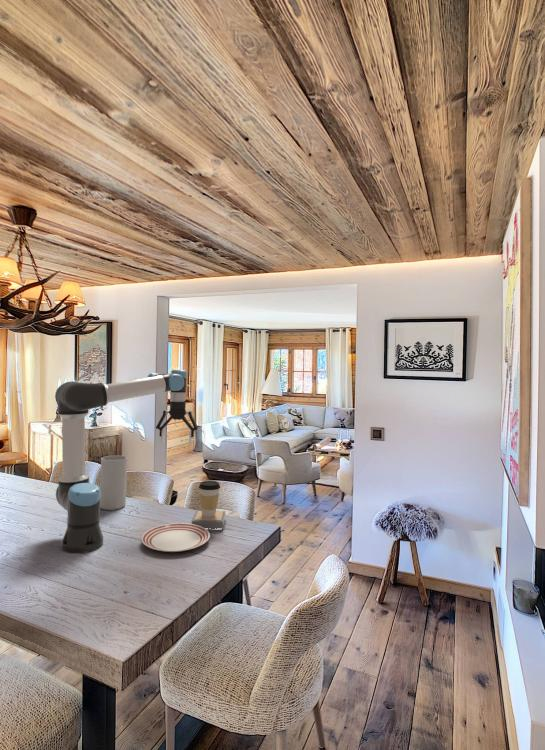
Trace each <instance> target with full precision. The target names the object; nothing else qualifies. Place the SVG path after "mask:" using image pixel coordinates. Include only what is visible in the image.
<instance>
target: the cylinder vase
mask: <svg viewBox="0 0 545 750" xmlns="http://www.w3.org/2000/svg"><path fill="white" fill-rule="evenodd" d="M127 468H128V457H127V456H125V455H107V456H103V457H101V458H100V481H99V482H100V483H99V488H100V495H101V498H100V510H105V511H115V509H116V510H120V509H122V507H123V508H124V507H125V506H126V502H127V501H126V497H127V476H128V475H127V473H128V472H127V471H128V470H127Z"/></svg>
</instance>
